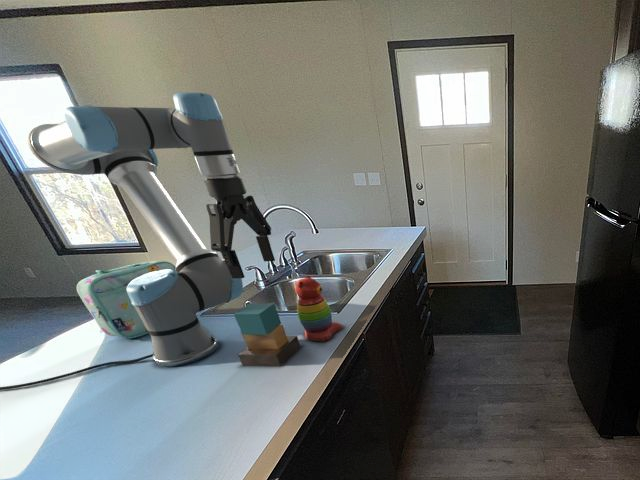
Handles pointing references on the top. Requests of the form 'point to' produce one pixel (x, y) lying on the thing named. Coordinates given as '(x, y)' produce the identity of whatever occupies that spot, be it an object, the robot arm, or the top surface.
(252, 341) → the oak brick
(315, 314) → the stacking bear
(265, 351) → the walnut base
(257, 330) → the teal cube
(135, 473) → the top surface
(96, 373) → the top surface
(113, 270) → the lunch box
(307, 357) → the top surface
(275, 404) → the top surface
